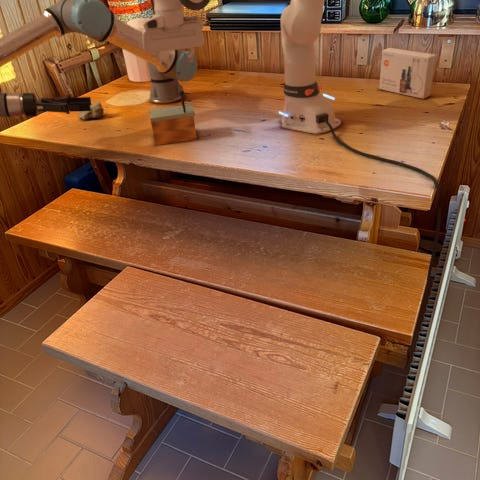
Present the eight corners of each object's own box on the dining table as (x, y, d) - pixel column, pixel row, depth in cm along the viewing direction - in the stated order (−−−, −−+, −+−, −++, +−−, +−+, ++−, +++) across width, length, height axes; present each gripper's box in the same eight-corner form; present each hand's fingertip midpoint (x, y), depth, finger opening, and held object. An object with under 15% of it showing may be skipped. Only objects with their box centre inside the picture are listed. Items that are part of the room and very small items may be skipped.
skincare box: (377, 89, 194) (381, 50, 185) (385, 86, 197) (389, 47, 188) (423, 99, 180) (429, 56, 171) (430, 95, 183) (437, 53, 174)
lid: (192, 107, 170) (188, 82, 165) (195, 115, 162) (191, 90, 157) (150, 113, 168) (145, 88, 163) (151, 122, 160) (146, 96, 155)
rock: (80, 117, 200) (78, 121, 191) (76, 102, 197) (75, 105, 188) (105, 114, 202) (105, 117, 193) (102, 99, 199) (101, 102, 190)
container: (160, 81, 233) (149, 21, 217) (121, 82, 238) (108, 23, 222) (174, 69, 249) (165, 13, 233) (138, 70, 254) (126, 15, 238)
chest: (194, 129, 174) (190, 107, 170) (196, 139, 167) (193, 115, 162) (154, 135, 173) (150, 113, 168) (155, 145, 165) (151, 122, 160)
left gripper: (30, 110, 165) (92, 109, 171) (19, 123, 144) (91, 121, 149) (26, 88, 162) (89, 88, 168) (15, 98, 140) (88, 97, 146)
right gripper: (200, 13, 152) (206, 57, 159) (138, 21, 149) (146, 65, 157) (203, 16, 146) (208, 61, 154) (138, 24, 144) (147, 69, 152)
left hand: (90, 103), depth 158 cm, fingers open, 13 cm apart
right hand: (176, 63), depth 156 cm, fingers open, 8 cm apart
